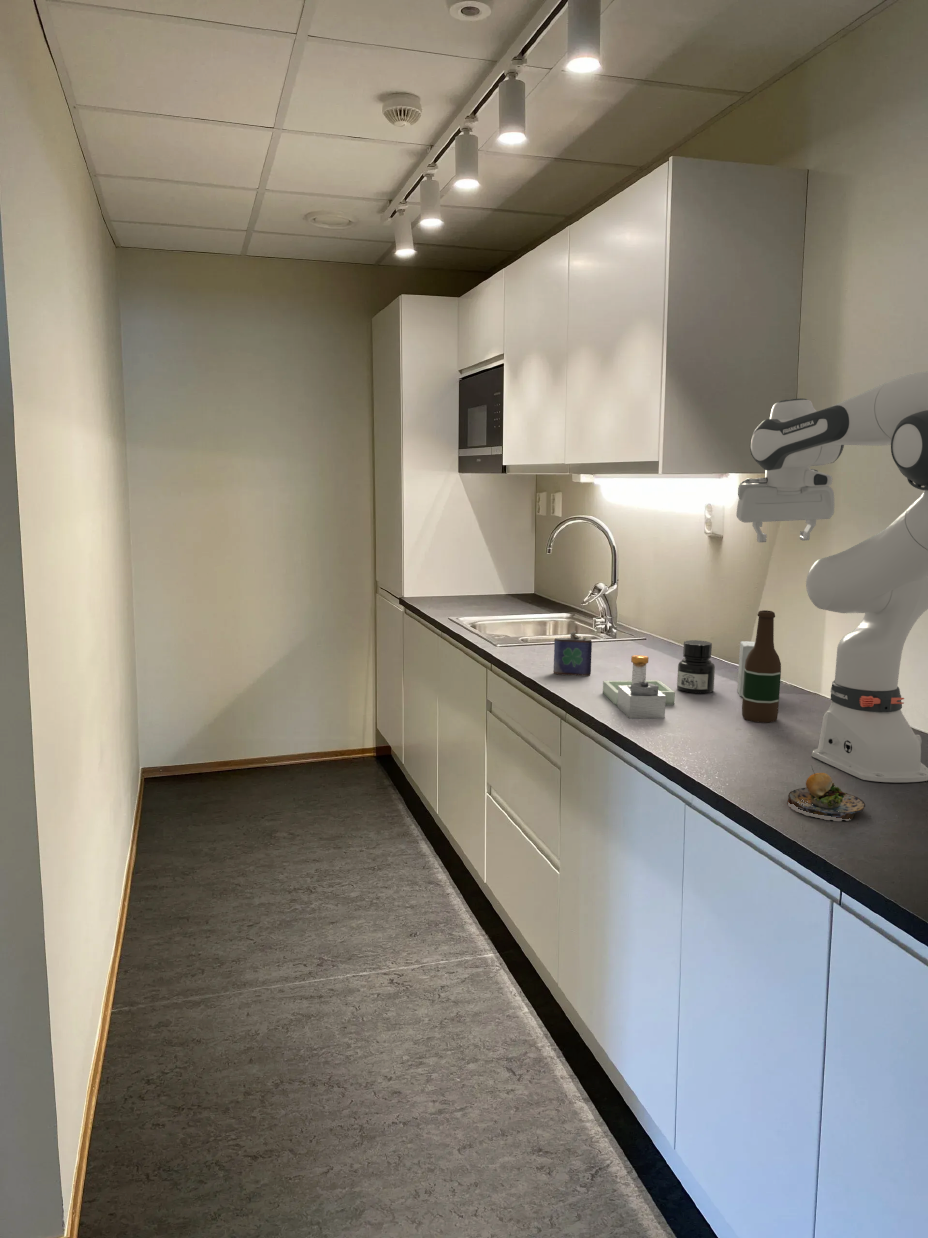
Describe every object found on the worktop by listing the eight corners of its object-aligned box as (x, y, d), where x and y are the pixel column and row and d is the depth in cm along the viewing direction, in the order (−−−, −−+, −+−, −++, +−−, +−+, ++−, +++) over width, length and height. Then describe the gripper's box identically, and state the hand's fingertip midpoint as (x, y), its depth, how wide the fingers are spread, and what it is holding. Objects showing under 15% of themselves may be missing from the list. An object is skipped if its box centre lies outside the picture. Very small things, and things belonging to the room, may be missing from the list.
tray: (674, 704, 217) (674, 692, 216) (615, 705, 215) (616, 692, 215) (658, 692, 229) (659, 680, 228) (602, 692, 227) (603, 680, 227)
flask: (552, 674, 247) (554, 631, 245) (553, 672, 250) (555, 629, 248) (590, 676, 245) (592, 633, 243) (591, 674, 248) (592, 631, 246)
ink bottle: (668, 689, 232) (671, 642, 230) (687, 684, 238) (690, 637, 236) (703, 696, 225) (706, 647, 223) (721, 690, 231) (724, 643, 229)
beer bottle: (753, 724, 201) (761, 614, 197) (734, 715, 208) (740, 609, 204) (785, 722, 203) (793, 613, 199) (764, 713, 210) (771, 608, 206)
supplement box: (771, 699, 224) (774, 647, 222) (739, 697, 225) (742, 645, 223) (767, 691, 231) (771, 641, 229) (736, 690, 232) (739, 640, 230)
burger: (865, 827, 144) (869, 781, 143) (785, 816, 148) (788, 771, 147) (863, 802, 155) (867, 759, 154) (788, 793, 159) (791, 750, 158)
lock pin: (647, 711, 210) (650, 658, 208) (631, 711, 210) (634, 658, 208) (642, 707, 214) (645, 655, 212) (626, 707, 214) (629, 655, 212)
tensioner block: (665, 718, 205) (666, 685, 204) (629, 718, 204) (630, 685, 203) (651, 706, 215) (652, 675, 214) (617, 706, 214) (618, 675, 213)
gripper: (743, 480, 194) (740, 546, 198) (840, 476, 195) (835, 541, 199) (733, 476, 200) (730, 540, 204) (827, 472, 201) (822, 536, 205)
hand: (783, 540), depth 201 cm, fingers open, 8 cm apart
